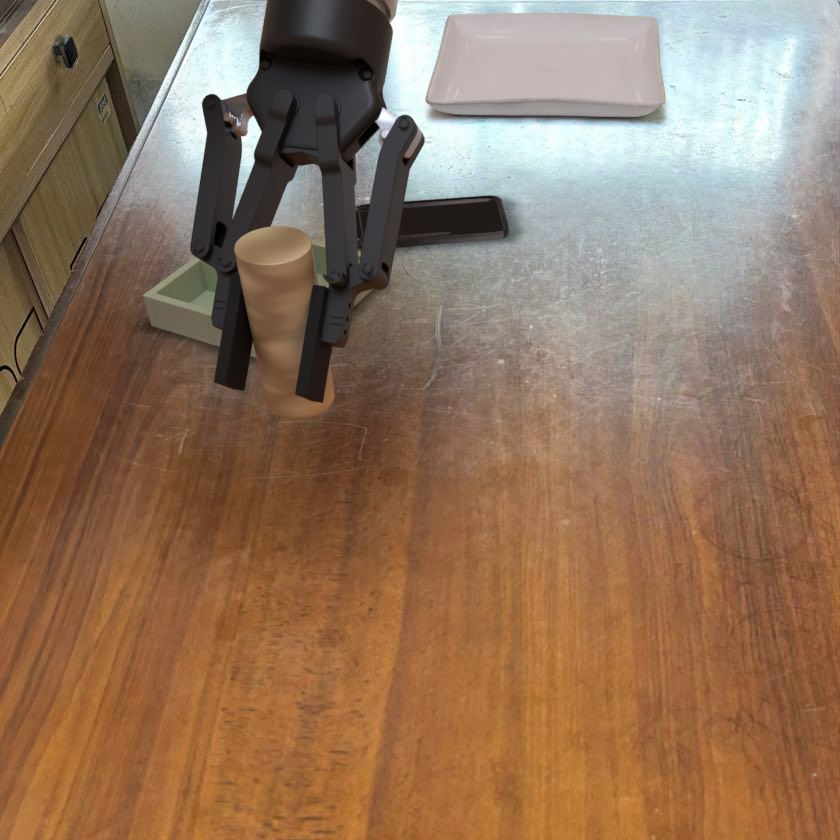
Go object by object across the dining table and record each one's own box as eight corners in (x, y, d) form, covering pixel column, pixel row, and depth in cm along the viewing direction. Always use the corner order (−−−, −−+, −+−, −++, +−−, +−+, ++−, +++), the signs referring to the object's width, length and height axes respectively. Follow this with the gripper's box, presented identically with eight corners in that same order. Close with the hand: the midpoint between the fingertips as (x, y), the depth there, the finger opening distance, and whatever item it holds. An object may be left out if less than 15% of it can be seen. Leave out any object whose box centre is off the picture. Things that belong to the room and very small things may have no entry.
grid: (152, 330, 97) (142, 295, 95) (250, 255, 106) (243, 220, 104) (288, 372, 93) (281, 336, 90) (378, 290, 102) (374, 255, 99)
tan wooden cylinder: (251, 408, 70) (218, 253, 63) (291, 371, 73) (264, 219, 65) (309, 427, 69) (282, 271, 61) (348, 389, 72) (326, 235, 64)
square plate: (449, 40, 146) (447, 10, 143) (655, 44, 145) (658, 13, 143) (425, 128, 127) (423, 94, 124) (664, 132, 126) (667, 99, 123)
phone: (352, 205, 111) (500, 194, 113) (353, 215, 112) (500, 204, 113) (354, 244, 105) (510, 232, 107) (356, 254, 106) (510, 242, 108)
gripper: (485, 51, 68) (424, 421, 68) (224, 26, 71) (165, 382, 71) (458, -12, 61) (390, 404, 61) (167, -37, 64) (102, 361, 64)
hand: (269, 391), depth 66 cm, fingers closed on tan wooden cylinder, 4 cm apart
